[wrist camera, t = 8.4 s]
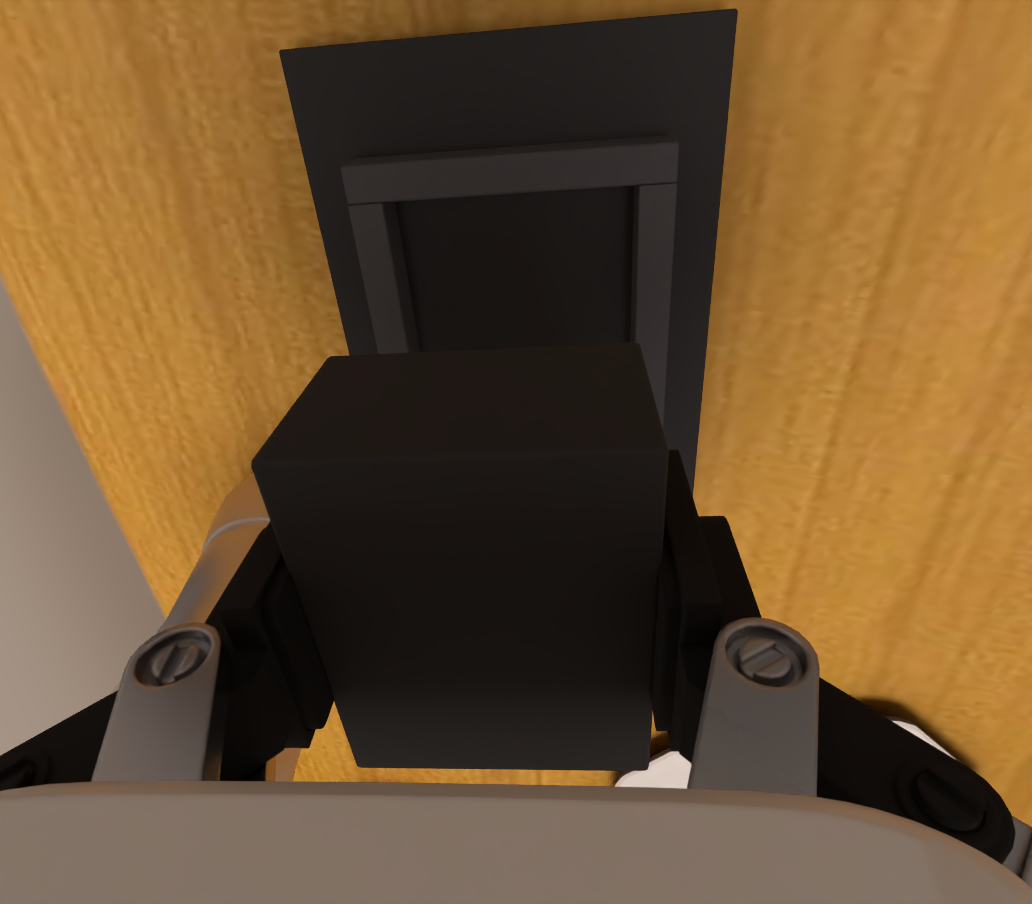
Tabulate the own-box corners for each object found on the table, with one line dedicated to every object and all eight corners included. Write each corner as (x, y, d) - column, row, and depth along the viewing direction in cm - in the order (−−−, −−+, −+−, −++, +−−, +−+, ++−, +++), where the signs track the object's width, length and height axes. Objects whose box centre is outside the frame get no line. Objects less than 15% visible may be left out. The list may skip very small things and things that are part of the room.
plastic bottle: (361, 424, 25) (-37, 1198, 8) (417, 552, 29) (215, 1280, 12) (216, 453, 26) (-391, 1184, 9) (286, 573, 30) (-67, 1263, 13)
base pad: (296, 49, 18) (255, 51, 16) (725, 10, 17) (753, 5, 15) (395, 496, 27) (378, 543, 24) (685, 489, 26) (698, 537, 23)
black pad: (327, 354, 11) (247, 462, 8) (640, 339, 11) (670, 449, 8) (395, 628, 15) (356, 769, 12) (631, 626, 15) (649, 773, 12)
